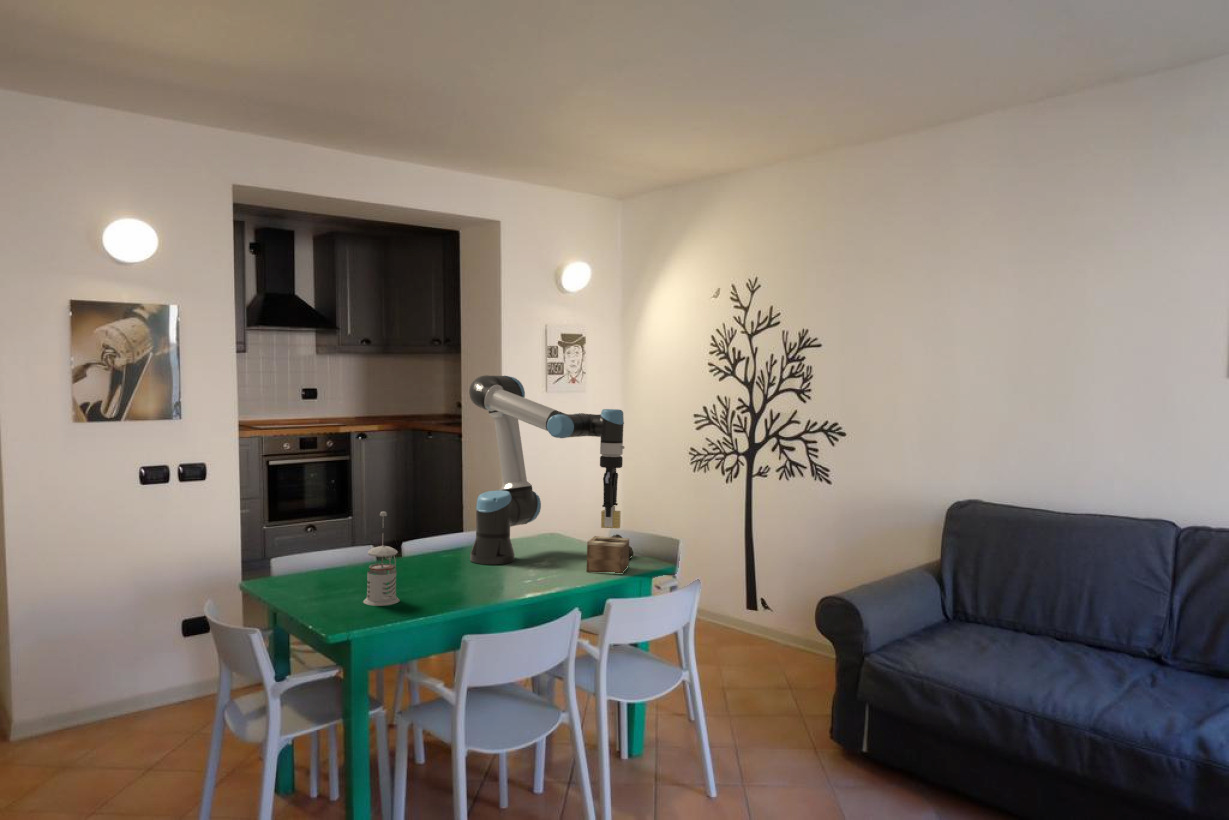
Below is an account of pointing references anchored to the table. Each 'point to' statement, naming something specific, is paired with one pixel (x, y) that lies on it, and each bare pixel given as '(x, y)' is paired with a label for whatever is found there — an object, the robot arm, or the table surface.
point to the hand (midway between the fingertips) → (609, 525)
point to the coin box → (607, 554)
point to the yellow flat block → (615, 519)
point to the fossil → (629, 546)
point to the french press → (381, 577)
